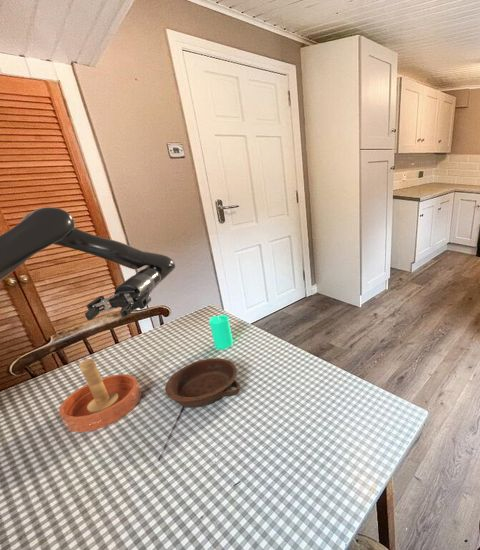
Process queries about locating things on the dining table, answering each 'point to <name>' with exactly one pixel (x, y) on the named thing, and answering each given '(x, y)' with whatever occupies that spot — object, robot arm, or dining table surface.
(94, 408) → the wooden pestle
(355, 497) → the dining table surface
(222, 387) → the dish
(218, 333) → the candle
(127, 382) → the bowl
